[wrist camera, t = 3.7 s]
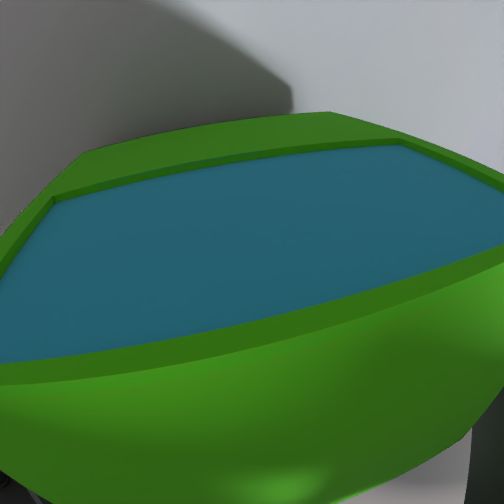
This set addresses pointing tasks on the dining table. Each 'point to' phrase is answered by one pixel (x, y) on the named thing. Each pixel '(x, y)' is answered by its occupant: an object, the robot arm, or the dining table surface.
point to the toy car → (249, 314)
